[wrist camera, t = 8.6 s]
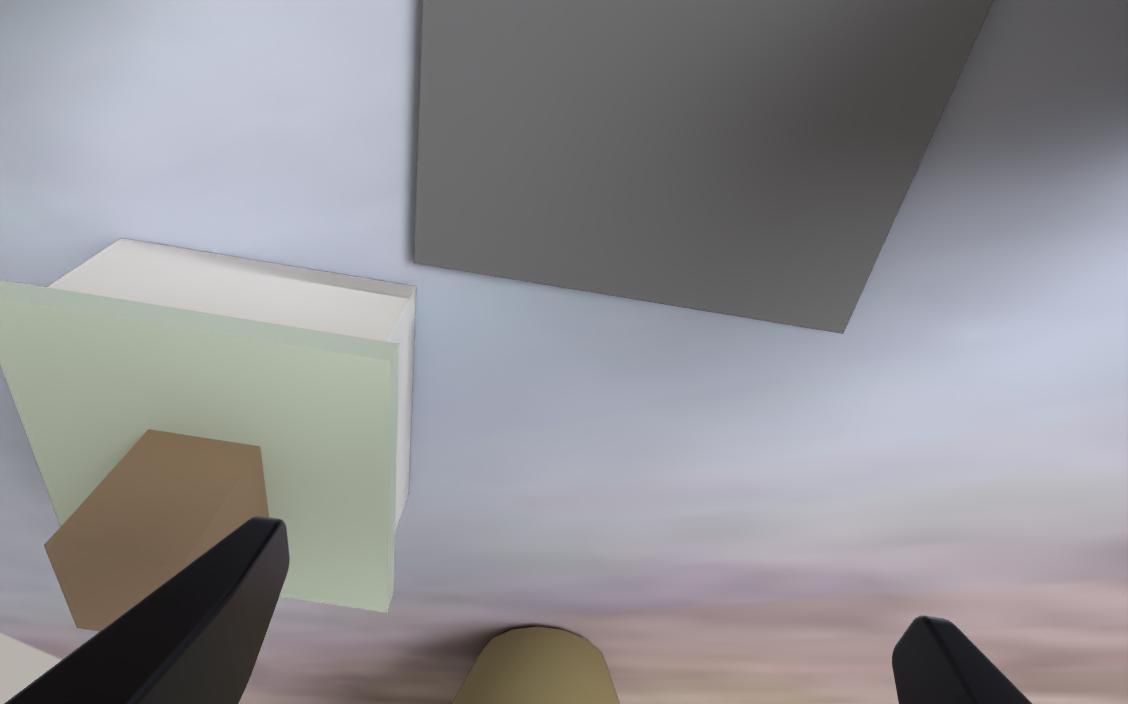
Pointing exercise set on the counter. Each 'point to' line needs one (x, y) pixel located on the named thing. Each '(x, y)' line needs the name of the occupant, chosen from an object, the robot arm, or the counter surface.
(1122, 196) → the counter surface
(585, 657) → the squeeze bottle
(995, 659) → the counter surface
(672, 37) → the mat
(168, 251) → the white box
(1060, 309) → the counter surface
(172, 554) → the lid
